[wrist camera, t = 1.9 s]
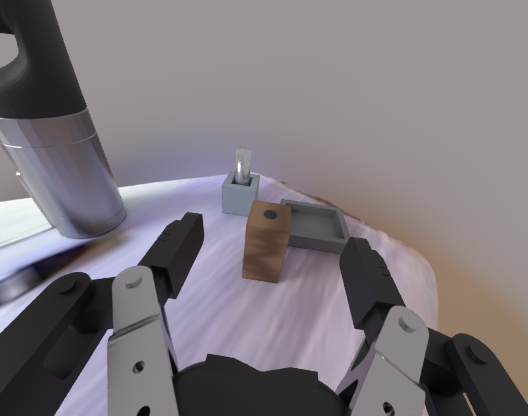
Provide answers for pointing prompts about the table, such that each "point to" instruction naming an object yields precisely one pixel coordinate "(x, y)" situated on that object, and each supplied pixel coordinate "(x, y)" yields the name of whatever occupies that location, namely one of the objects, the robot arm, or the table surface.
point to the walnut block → (266, 240)
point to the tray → (317, 227)
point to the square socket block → (239, 195)
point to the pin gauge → (242, 166)
